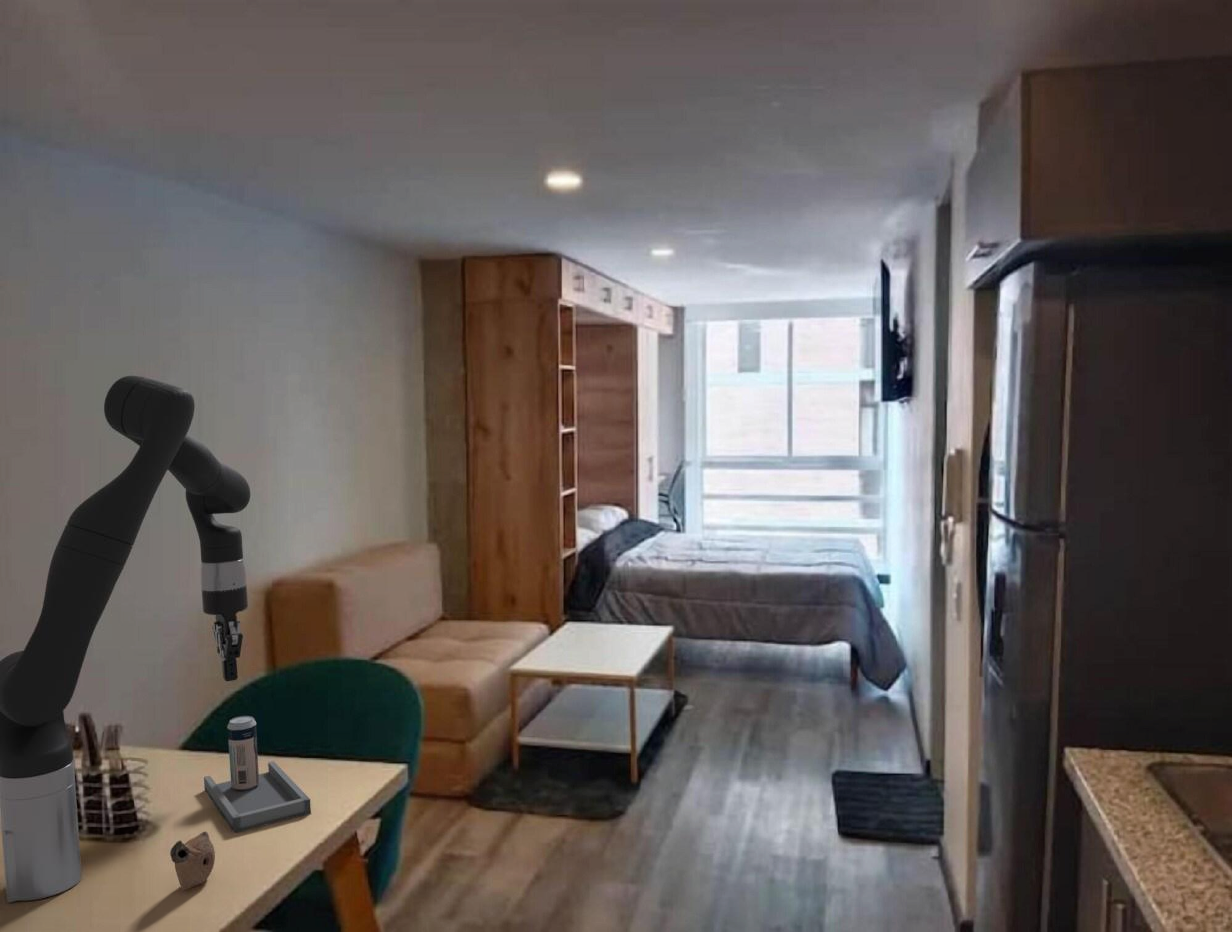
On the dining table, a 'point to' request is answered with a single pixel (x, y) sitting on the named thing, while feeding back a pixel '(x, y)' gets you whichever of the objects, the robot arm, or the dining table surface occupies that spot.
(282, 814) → the tray
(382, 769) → the dining table surface
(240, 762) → the beer can
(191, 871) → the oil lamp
